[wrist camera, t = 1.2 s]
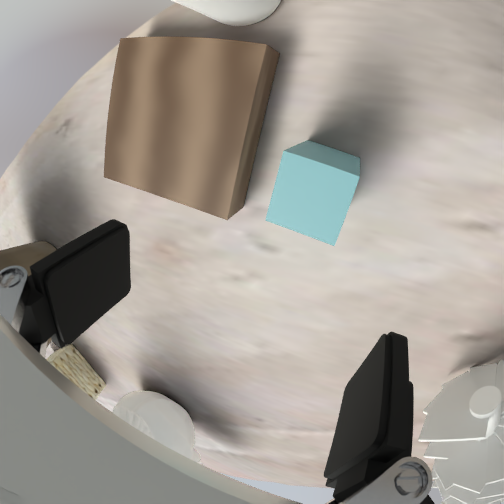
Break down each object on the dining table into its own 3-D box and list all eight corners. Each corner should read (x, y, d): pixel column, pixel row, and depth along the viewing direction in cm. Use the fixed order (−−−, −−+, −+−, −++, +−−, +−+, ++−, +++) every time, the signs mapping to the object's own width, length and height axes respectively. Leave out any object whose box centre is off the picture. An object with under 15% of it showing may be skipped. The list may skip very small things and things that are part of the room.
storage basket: (72, 339, 62) (33, 374, 49) (113, 388, 65) (80, 426, 52) (51, 350, 74) (21, 378, 61) (83, 389, 77) (57, 418, 64)
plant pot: (108, 280, 44) (10, 361, 26) (88, 342, 58) (26, 402, 40) (29, 191, 44) (-62, 237, 26) (25, 269, 57) (-39, 313, 39)
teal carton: (360, 158, 25) (359, 176, 17) (343, 207, 27) (334, 246, 20) (307, 140, 26) (283, 150, 18) (293, 189, 28) (265, 220, 21)
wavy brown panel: (279, 53, 23) (266, 44, 19) (243, 207, 31) (227, 220, 27) (144, 42, 26) (120, 38, 22) (126, 169, 34) (103, 177, 31)
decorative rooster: (123, 377, 59) (58, 453, 38) (166, 376, 51) (90, 474, 30) (187, 443, 64) (141, 514, 44) (234, 448, 57) (187, 535, 36)
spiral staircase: (495, 323, 29) (498, 418, 33) (393, 400, 31) (422, 474, 35) (585, 383, 11) (547, 473, 15) (458, 506, 13) (458, 543, 17)
